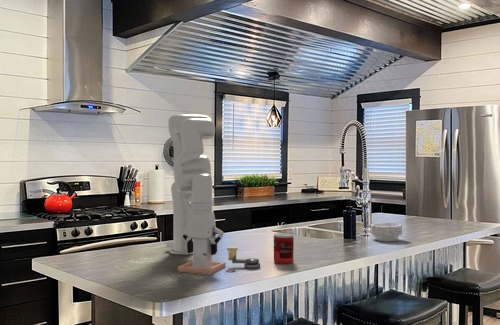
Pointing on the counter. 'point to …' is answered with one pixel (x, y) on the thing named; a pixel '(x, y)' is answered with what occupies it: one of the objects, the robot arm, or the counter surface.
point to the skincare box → (202, 253)
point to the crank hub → (251, 266)
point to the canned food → (283, 248)
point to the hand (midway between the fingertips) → (201, 253)
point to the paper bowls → (386, 231)
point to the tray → (189, 268)
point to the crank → (233, 257)
